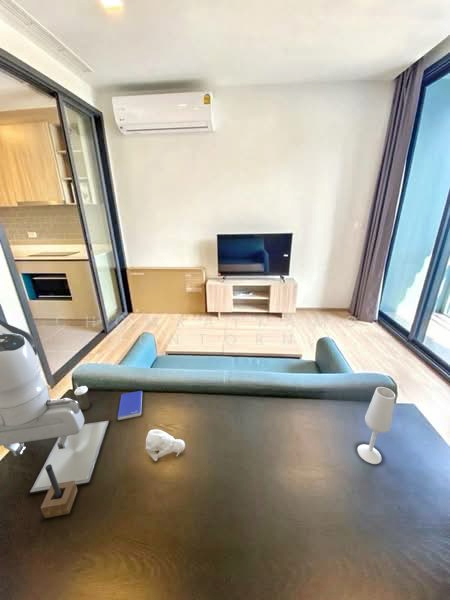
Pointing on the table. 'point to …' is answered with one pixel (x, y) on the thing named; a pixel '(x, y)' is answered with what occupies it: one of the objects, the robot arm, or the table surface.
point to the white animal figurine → (162, 444)
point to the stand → (59, 500)
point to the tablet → (74, 458)
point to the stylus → (53, 481)
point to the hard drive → (130, 405)
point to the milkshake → (82, 397)
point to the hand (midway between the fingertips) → (42, 449)
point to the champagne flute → (378, 422)
